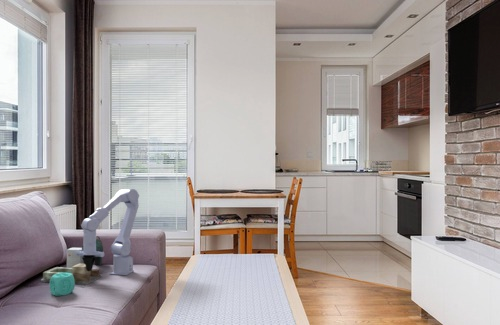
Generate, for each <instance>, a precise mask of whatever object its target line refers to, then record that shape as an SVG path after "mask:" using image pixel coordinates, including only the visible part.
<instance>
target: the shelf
mask: <svg viewBox="0 0 500 325" xmlns="http://www.w3.org/2000/svg"><path fill="white" fill-rule="evenodd" d="M100 272H101V270H100V269H97V268H96V269H93V268H92V270H91V271H90V274H76V273H72V268H67V267H62V266H60V267H59V266H56V267H53V268H50V269H48V270H45V271H43V272H42V278H41V279H40V282H42V283H50V279H51V277H52V276H53V275H55V274H58V273H71V274H72V275H73V277H74V281H75V285H89V284H91V283H92V282H94V281H96V280H98V279H99V278H101V277H102V274H101V273H100Z"/></svg>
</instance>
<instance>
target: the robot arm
mask: <svg viewBox="0 0 500 325" xmlns="http://www.w3.org/2000/svg"><path fill="white" fill-rule="evenodd" d="M139 197H140V194H139V192H138V190H136V189H135V188H125V187H122V188H121V189H119V190H118V191H116V192H115V195H114V196H113V197H112V198H111V199H110V200H109V201H108V202H107V203H106V204H105V205H104V206H102V207H97V208H96V210H95V211H94V212H93V213H92V214H91V215H89V216H88V217H87V218H84V219H83V221H82V222H81V224H80V226H81V228H82V230H83V231H82V232H83V235H82V236H83V241H82V244H83V251H76V252H75V256H77V255H81V256H84V257H82V259H83V261H84V262H85V265H86V268H87V271H91V270H92V269H93V266H94V265H95V259H96V257H97V256H99V257H102V258H104V257H105V252H104V251H103V252H99V251H96V239H97V229H99V226H100V224H101V223H102V222H103V221H104V220H105V219H106V218H107V217H108V216H109V212H110V211H111V210H113V209H114V208H116V206H118V205H119V204H120V203H124V204H125V206H126V211H125V213H124V217H123V220H122V224H121V226H120V230H119V234H118V236H117V237H116V238H114V241H113V243H112V244H111V246H110V251H111V253H112V255H113V259H112V260H113V264H112V267H113V270H112V272H109V275H118V276H119V275H120V276H127V275H130V274H131V273H133V272H134V270H133V269H134V259H133V257H132V256H130V253H131V246H132V245H131V244H132V242H131V239H130V237H131V233H132V231H133V230H132V229H133V226H134V223H135V220H136V217H137V213H138V209H139Z"/></svg>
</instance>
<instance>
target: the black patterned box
mask: <svg viewBox="0 0 500 325" xmlns="http://www.w3.org/2000/svg"><path fill="white" fill-rule="evenodd" d="M81 246H82V247H81V248H82V250H83V243H82V245H81ZM96 251H99V252H104V246H103V243H102V240H101V239H100V236H97V235H96ZM83 257H84V256H83ZM83 263H84V264H85V262H84V261H83ZM102 264H103V257H99V256H97V257H96V259H95V261H94V266H101V265H102Z"/></svg>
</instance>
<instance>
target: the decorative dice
mask: <svg viewBox="0 0 500 325" xmlns="http://www.w3.org/2000/svg"><path fill="white" fill-rule="evenodd" d="M75 285H76V284H75V281H74V277H73V275H72V274H71V273H58V274H55V275H53V276H52V277H51V279H50V282H49V290H50V293H51V295H52V296H54V295H55V296H56V297H62V296H61V295H63V296H67V294H68V295H70V294H72V293H73V291H74V290H75Z"/></svg>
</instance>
